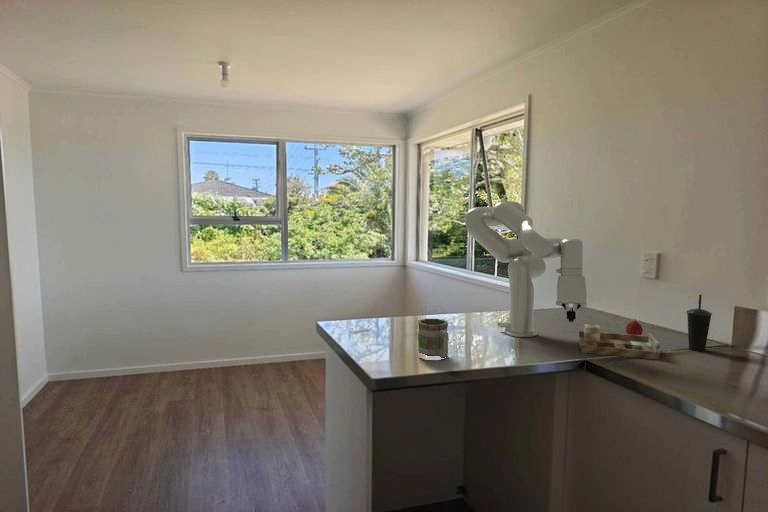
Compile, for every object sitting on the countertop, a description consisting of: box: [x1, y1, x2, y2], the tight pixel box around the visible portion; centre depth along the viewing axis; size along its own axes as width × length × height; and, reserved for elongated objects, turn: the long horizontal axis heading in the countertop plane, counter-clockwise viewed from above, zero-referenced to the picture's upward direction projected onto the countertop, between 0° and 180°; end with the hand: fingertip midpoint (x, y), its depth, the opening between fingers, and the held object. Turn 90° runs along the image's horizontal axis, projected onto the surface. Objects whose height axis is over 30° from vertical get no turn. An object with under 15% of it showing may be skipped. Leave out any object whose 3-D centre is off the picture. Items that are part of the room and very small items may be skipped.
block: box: [583, 323, 601, 342], centre depth 173 cm, size 5×5×5 cm
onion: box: [625, 318, 644, 335], centre depth 182 cm, size 6×6×8 cm
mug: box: [417, 318, 450, 358], centre depth 159 cm, size 16×11×12 cm
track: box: [578, 330, 661, 360], centre depth 167 cm, size 24×14×6 cm, turn 71°
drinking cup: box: [686, 294, 713, 353], centre depth 167 cm, size 8×8×20 cm
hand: (571, 321), depth 174 cm, fingers closed
